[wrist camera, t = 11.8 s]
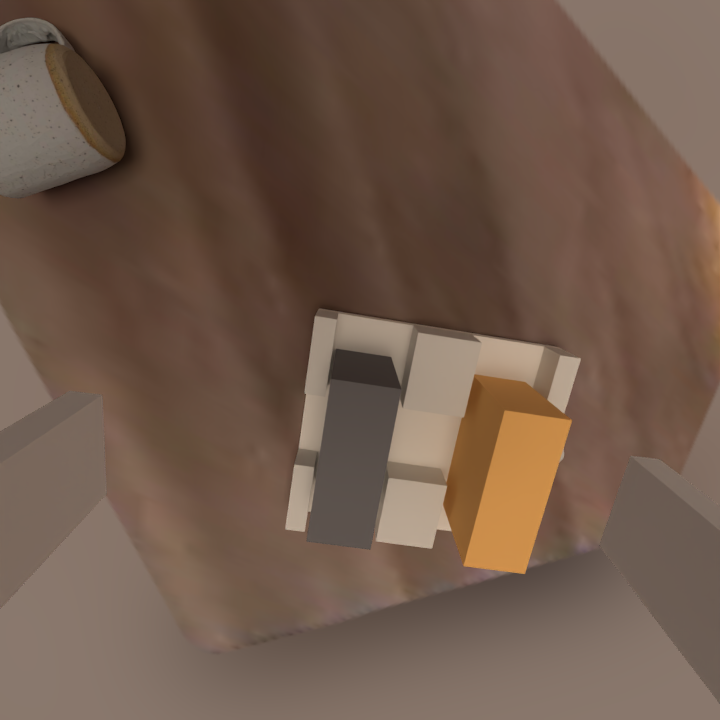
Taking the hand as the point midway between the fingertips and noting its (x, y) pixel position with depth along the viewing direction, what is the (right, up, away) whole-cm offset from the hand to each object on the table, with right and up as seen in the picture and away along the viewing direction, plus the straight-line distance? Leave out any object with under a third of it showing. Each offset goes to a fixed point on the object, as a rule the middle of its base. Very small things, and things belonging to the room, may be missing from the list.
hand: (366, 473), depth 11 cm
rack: (+5, -3, +27) cm, 28 cm away
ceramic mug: (-22, +20, +21) cm, 36 cm away
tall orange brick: (+10, -4, +26) cm, 29 cm away
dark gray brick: (-1, -2, +26) cm, 26 cm away
